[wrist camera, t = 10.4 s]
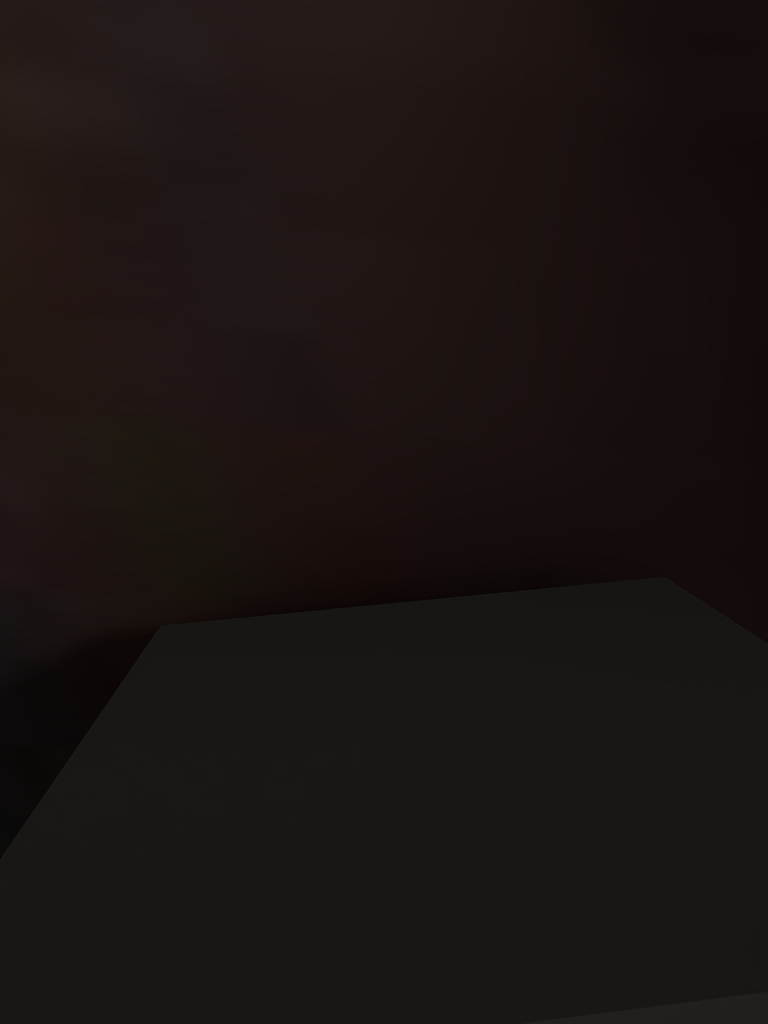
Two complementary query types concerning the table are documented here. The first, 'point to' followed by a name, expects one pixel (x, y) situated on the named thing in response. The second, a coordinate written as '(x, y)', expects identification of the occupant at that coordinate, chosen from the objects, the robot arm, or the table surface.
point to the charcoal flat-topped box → (410, 822)
